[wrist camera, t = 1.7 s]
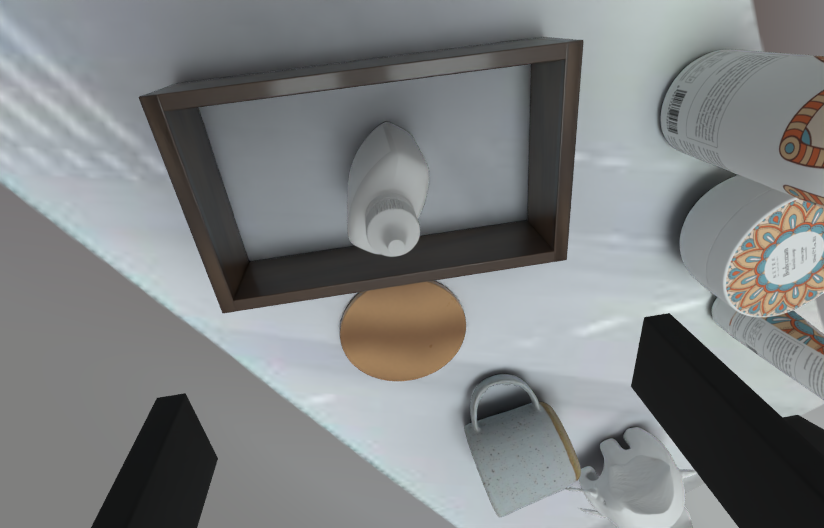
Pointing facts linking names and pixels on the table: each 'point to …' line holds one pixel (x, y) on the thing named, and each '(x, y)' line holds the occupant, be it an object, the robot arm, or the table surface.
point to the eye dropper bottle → (386, 192)
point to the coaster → (403, 330)
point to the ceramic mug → (520, 450)
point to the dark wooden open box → (353, 266)
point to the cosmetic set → (757, 198)
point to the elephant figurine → (637, 484)
